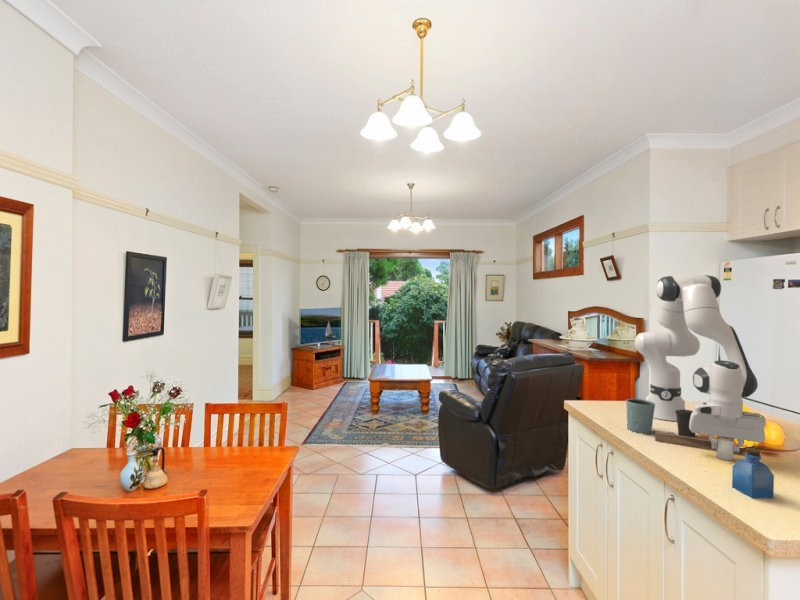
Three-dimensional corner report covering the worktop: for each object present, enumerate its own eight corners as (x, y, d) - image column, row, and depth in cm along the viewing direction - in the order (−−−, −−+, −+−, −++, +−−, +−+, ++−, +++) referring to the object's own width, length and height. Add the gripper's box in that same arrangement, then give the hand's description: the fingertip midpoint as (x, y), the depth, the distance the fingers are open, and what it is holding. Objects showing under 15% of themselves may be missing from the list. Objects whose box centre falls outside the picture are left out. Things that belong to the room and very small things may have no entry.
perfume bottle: (753, 487, 118) (754, 446, 118) (773, 498, 112) (774, 454, 112) (732, 487, 118) (733, 445, 118) (751, 498, 112) (752, 454, 112)
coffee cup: (704, 439, 159) (705, 413, 159) (683, 439, 159) (684, 413, 159) (689, 432, 167) (690, 408, 167) (669, 432, 167) (670, 407, 167)
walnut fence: (655, 439, 158) (655, 430, 158) (741, 453, 145) (742, 442, 145) (655, 441, 156) (655, 431, 156) (743, 455, 143) (743, 444, 143)
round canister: (715, 454, 143) (716, 434, 143) (732, 456, 141) (732, 436, 141) (717, 458, 139) (718, 437, 139) (734, 461, 137) (735, 440, 137)
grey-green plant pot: (623, 425, 175) (624, 397, 175) (650, 428, 172) (651, 399, 171) (628, 433, 165) (629, 403, 165) (657, 436, 162) (658, 405, 162)
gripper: (763, 411, 138) (762, 453, 138) (688, 403, 148) (688, 441, 148) (768, 416, 132) (767, 459, 132) (690, 407, 142) (690, 447, 143)
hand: (725, 449), depth 140 cm, fingers closed on round canister, 4 cm apart
